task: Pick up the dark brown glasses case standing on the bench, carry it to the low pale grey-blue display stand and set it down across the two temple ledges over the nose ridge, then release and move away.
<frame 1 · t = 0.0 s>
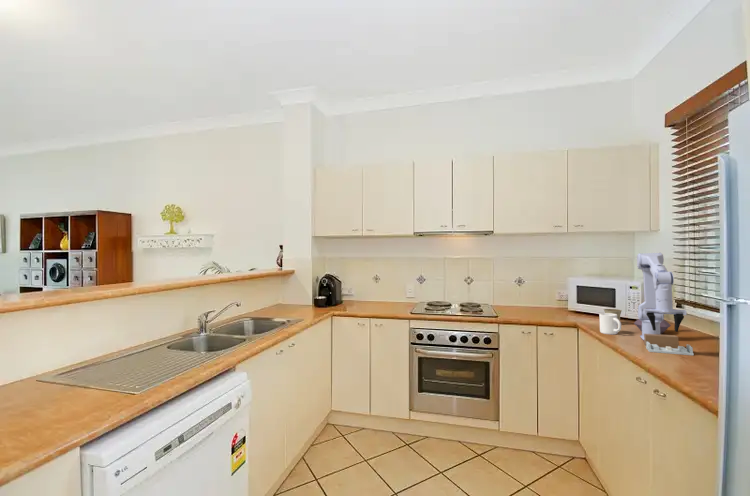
hand: (665, 330, 155), 10 cm above the countertop, tool pointing down, fingers open, 7 cm apart
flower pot: (613, 324, 219), on the countertop
mug: (611, 334, 194), on the countertop
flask: (652, 332, 196), on the countertop
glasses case: (661, 347, 166), on the countertop
display stand: (668, 351, 158), on the countertop
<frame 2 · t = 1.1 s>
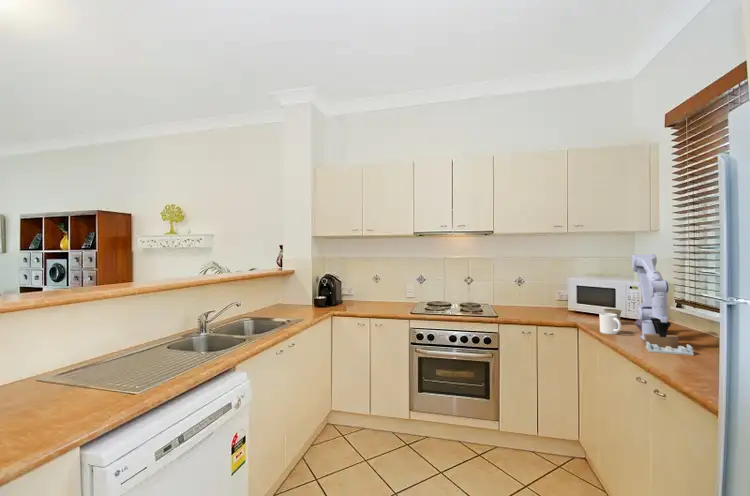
hand: (660, 335, 166), 5 cm above the countertop, tool pointing down, fingers open, 7 cm apart
nothing on the countertop moved.
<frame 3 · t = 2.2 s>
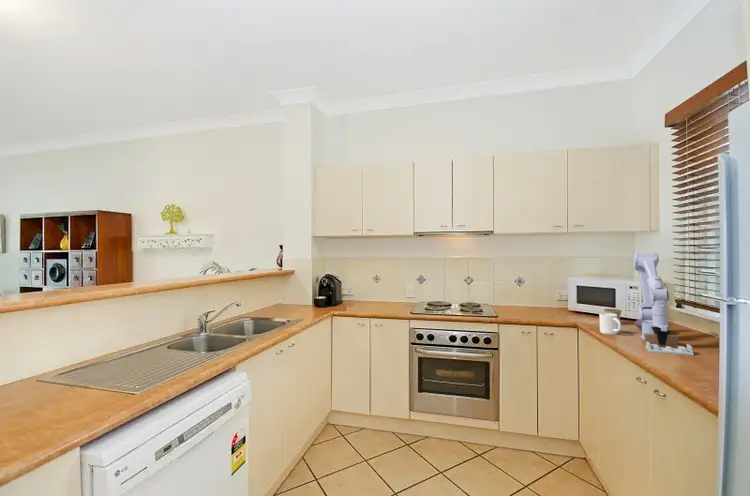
hand: (661, 343, 166), 1 cm above the countertop, tool pointing down, fingers closed on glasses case, 4 cm apart
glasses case: (661, 346, 166), on the countertop, touching gripper
everything else where it was.
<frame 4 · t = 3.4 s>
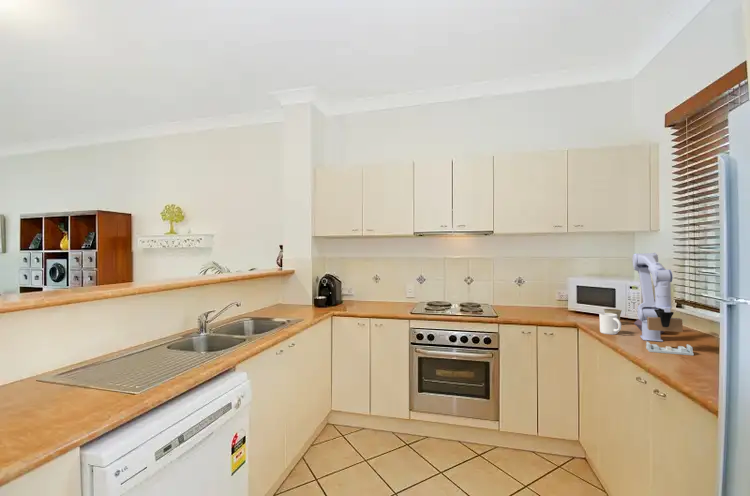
hand: (664, 326, 162), 11 cm above the countertop, tool pointing down, fingers closed on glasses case, 4 cm apart
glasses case: (664, 330, 162), point 9 cm above the countertop, touching gripper
everything else where it was.
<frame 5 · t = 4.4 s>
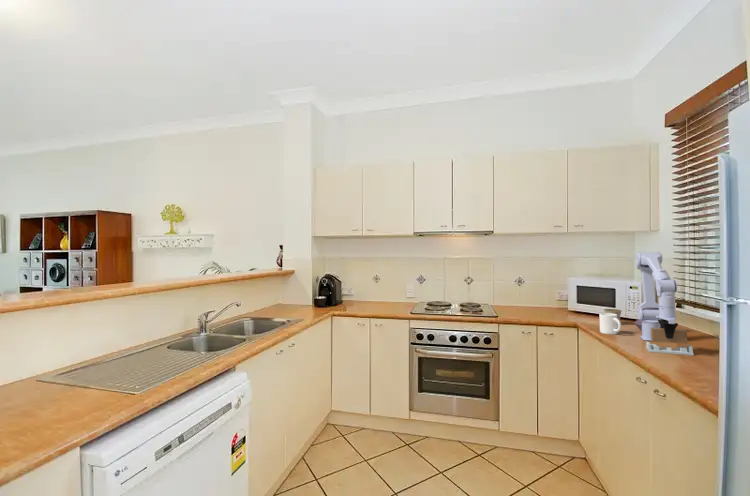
hand: (668, 337, 158), 6 cm above the countertop, tool pointing down, fingers closed on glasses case, 4 cm apart
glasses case: (668, 341, 158), point 4 cm above the countertop, touching gripper
everything else where it was.
when the fingers open (5 cm above the countertop, at t = 5.0 s): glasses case drops 1 cm, resting on display stand.
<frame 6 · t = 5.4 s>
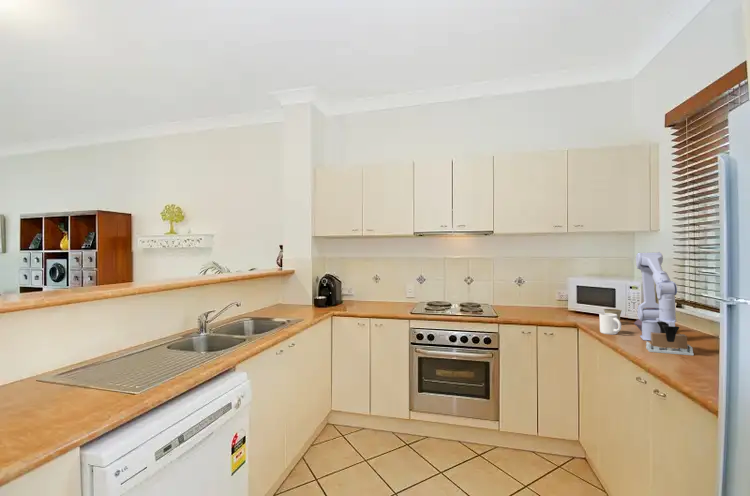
hand: (668, 339, 158), 5 cm above the countertop, tool pointing down, fingers open, 7 cm apart
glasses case: (668, 346, 158), point 2 cm above the countertop, touching display stand
everything else where it was.
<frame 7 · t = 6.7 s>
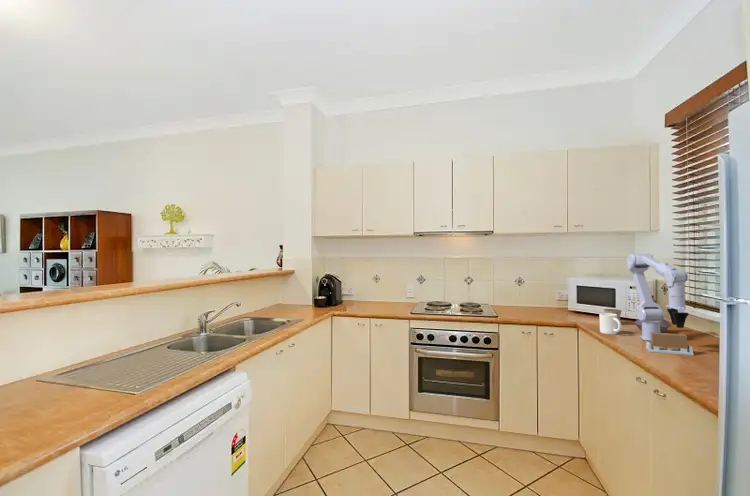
hand: (677, 326, 162), 10 cm above the countertop, tool pointing down, fingers open, 7 cm apart
nothing on the countertop moved.
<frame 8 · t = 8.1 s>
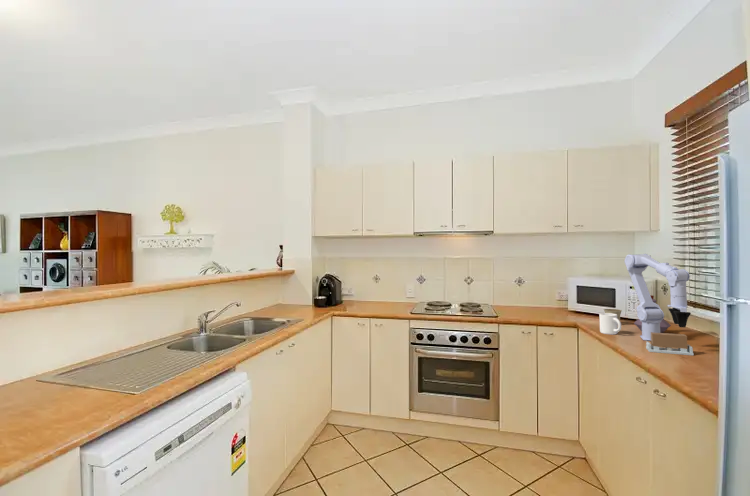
hand: (679, 325, 163), 10 cm above the countertop, tool pointing down, fingers open, 7 cm apart
nothing on the countertop moved.
at the end: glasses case 0.1 cm off-centre on the display stand, point 2.2 cm above the display stand's base; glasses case tilted 0°; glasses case touching display stand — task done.
